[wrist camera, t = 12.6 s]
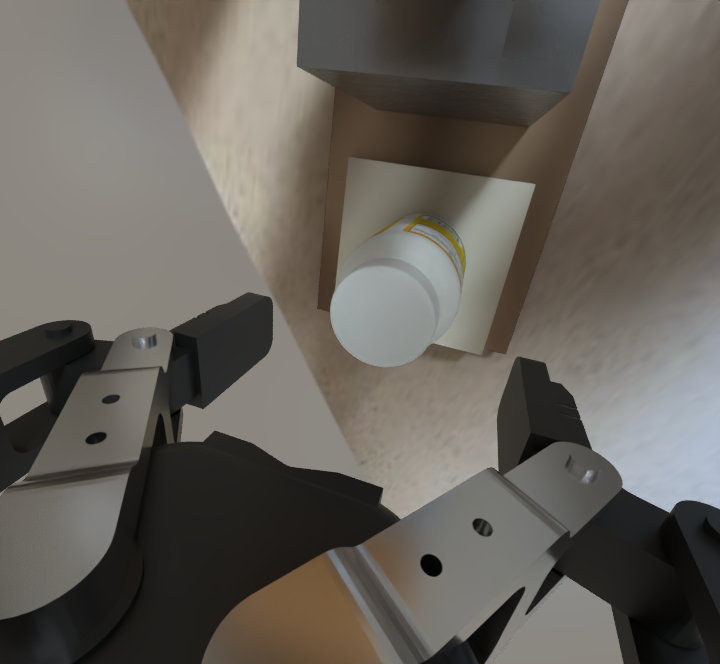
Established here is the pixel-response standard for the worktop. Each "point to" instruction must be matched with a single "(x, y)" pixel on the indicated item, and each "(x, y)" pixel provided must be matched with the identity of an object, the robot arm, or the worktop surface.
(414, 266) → the supplement bottle
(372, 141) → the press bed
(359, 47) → the open box
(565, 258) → the worktop surface
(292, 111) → the worktop surface
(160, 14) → the worktop surface
